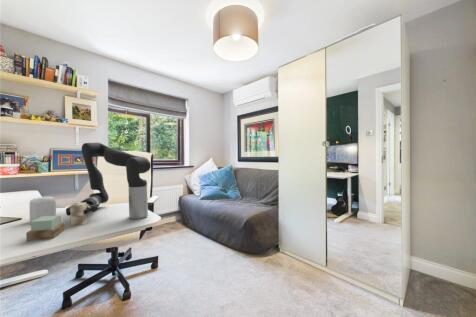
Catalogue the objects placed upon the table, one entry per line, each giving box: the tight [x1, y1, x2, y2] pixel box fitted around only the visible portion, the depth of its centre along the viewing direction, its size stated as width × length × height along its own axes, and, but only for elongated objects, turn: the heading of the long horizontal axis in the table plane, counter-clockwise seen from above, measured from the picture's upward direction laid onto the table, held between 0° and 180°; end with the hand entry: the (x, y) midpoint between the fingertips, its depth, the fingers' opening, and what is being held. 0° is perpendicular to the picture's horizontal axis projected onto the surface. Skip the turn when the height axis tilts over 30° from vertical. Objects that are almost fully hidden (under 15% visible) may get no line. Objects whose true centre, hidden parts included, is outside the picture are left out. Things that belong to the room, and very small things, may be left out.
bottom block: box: [25, 222, 65, 242], centre depth 88 cm, size 9×9×4 cm
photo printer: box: [28, 196, 57, 223], centre depth 108 cm, size 10×4×12 cm, turn 123°
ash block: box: [69, 202, 88, 227], centre depth 103 cm, size 5×5×10 cm
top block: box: [30, 214, 62, 231], centre depth 88 cm, size 7×7×4 cm
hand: (76, 212), depth 100 cm, fingers open, 6 cm apart
